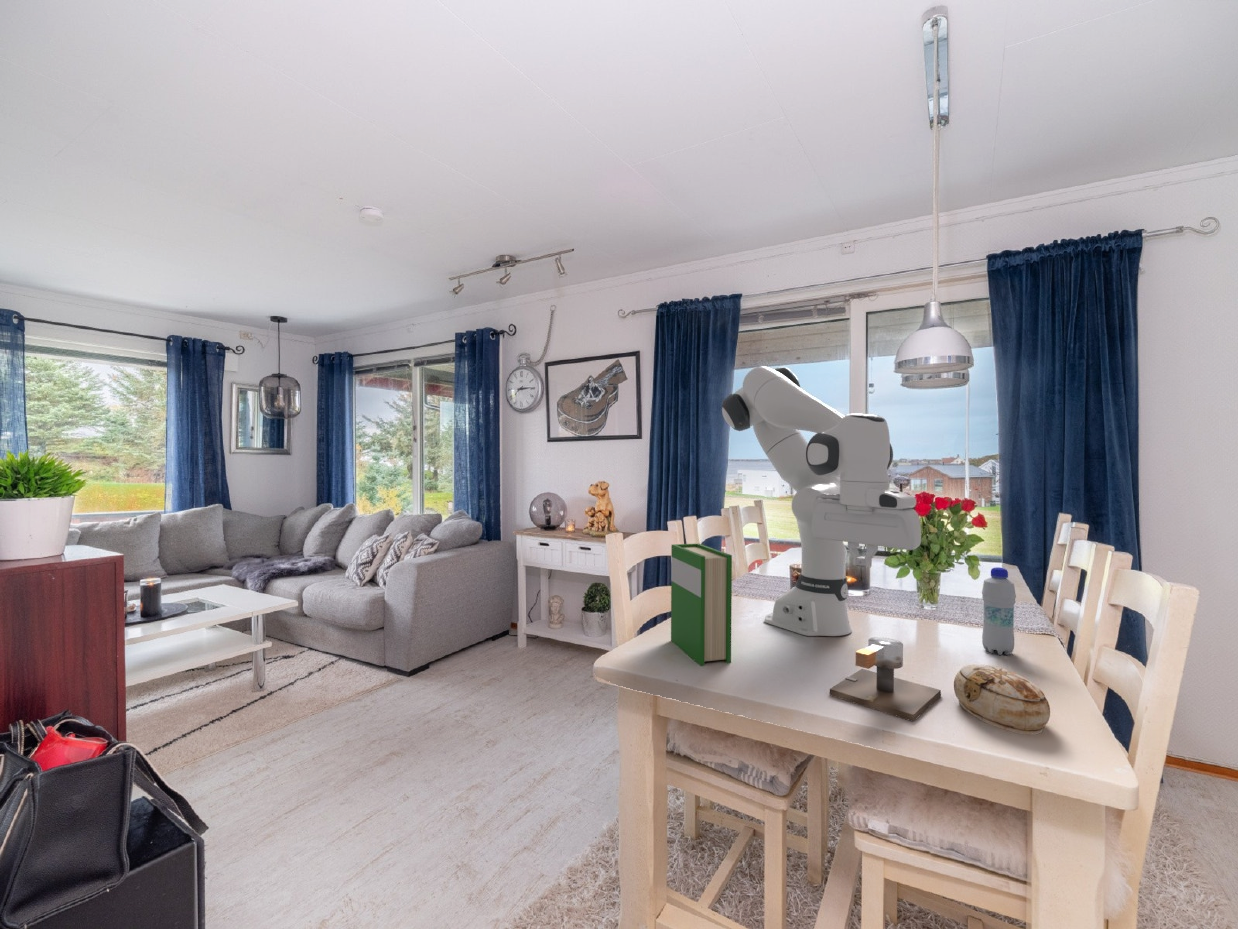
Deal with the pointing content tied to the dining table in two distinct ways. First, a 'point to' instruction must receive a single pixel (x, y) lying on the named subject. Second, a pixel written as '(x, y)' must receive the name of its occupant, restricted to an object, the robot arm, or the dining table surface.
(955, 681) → the trinket box
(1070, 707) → the dining table surface
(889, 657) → the lever handle
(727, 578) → the hardback book
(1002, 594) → the bottle
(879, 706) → the base
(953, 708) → the dining table surface
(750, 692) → the dining table surface
